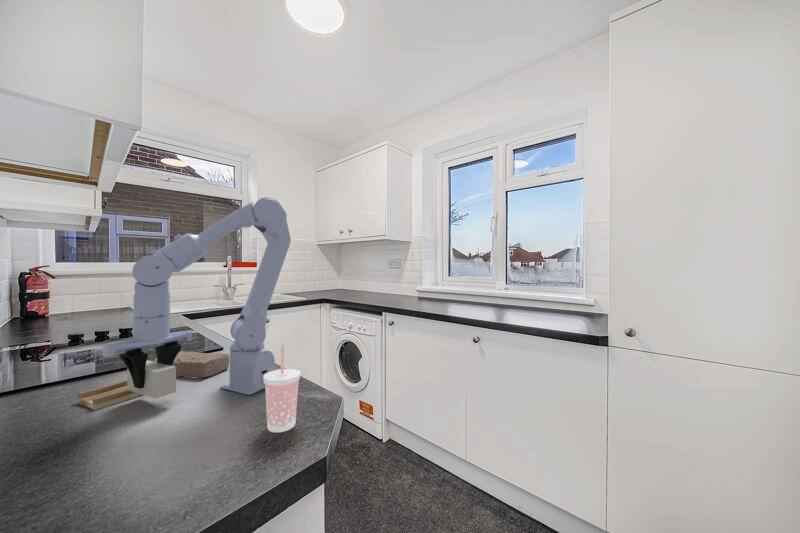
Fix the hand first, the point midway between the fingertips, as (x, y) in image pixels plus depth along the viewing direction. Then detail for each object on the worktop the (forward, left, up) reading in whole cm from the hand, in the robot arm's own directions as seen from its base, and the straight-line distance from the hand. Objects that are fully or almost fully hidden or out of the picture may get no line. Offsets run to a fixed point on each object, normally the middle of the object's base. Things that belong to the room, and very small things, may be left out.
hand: (151, 383), depth 61 cm
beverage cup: (-30, -5, -4) cm, 31 cm away
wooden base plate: (+10, +1, -4) cm, 11 cm away
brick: (+13, -15, -5) cm, 20 cm away
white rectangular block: (0, 0, -1) cm, 1 cm away
